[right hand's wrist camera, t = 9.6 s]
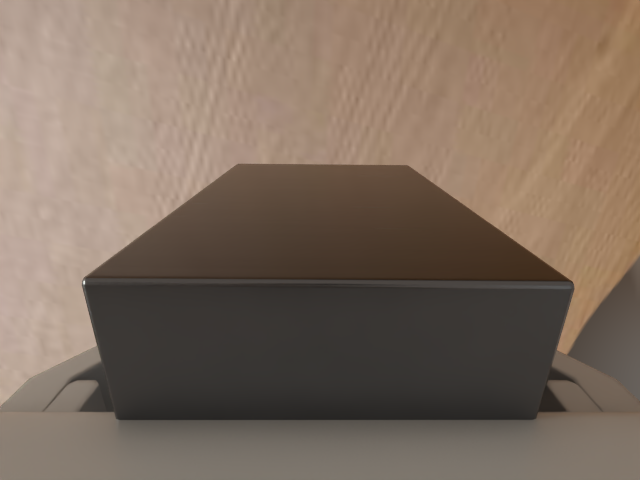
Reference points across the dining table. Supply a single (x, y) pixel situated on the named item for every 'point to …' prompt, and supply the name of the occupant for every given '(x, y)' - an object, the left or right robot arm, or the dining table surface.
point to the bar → (326, 304)
